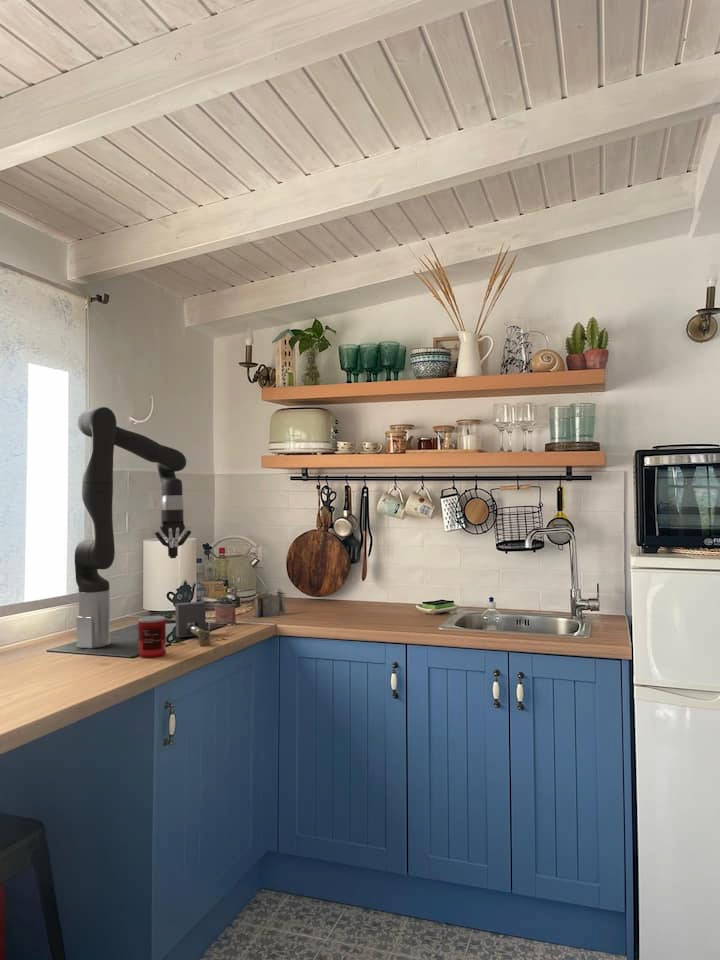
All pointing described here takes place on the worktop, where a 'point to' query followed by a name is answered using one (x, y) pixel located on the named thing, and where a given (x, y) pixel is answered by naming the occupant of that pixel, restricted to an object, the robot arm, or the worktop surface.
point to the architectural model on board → (269, 605)
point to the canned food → (152, 636)
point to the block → (189, 617)
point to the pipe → (203, 635)
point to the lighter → (225, 611)
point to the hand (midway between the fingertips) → (173, 558)
